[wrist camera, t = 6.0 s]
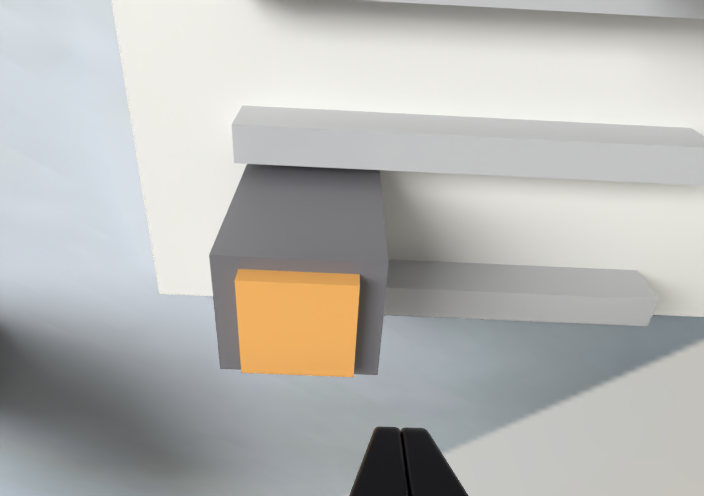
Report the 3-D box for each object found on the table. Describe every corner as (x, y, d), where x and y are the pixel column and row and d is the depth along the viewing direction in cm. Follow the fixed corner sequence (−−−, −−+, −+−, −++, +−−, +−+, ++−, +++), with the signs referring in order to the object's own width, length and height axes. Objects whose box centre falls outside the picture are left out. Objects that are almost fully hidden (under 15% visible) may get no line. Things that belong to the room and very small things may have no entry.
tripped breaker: (255, 250, 17) (217, 382, 12) (250, 156, 15) (204, 266, 10) (371, 255, 17) (378, 388, 12) (379, 162, 15) (389, 274, 11)
